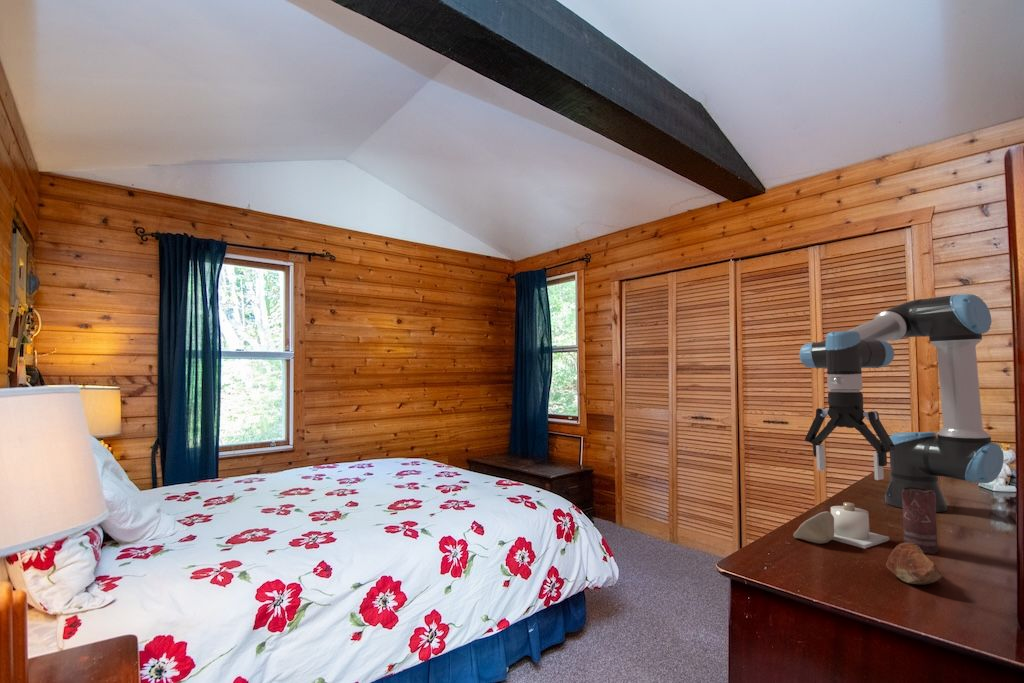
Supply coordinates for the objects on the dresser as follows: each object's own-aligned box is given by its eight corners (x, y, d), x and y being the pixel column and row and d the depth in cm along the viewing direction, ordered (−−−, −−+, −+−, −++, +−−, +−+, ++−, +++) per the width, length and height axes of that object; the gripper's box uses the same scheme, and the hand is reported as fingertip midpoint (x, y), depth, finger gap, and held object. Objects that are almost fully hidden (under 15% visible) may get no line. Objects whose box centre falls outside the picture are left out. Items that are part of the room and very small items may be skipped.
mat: (837, 527, 134) (837, 524, 134) (889, 540, 124) (889, 537, 124) (812, 534, 128) (812, 531, 128) (864, 548, 118) (864, 545, 118)
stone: (795, 537, 129) (817, 506, 129) (821, 557, 124) (845, 524, 124) (790, 534, 121) (814, 500, 121) (818, 554, 117) (843, 519, 117)
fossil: (888, 546, 109) (910, 516, 104) (933, 572, 104) (959, 542, 99) (874, 583, 101) (898, 552, 96) (922, 613, 96) (950, 582, 91)
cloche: (841, 527, 131) (840, 498, 132) (875, 535, 124) (874, 505, 125) (824, 532, 127) (823, 501, 128) (859, 541, 120) (858, 509, 121)
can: (945, 555, 114) (942, 493, 114) (913, 553, 115) (911, 491, 116) (928, 546, 119) (926, 487, 120) (899, 544, 121) (896, 486, 122)
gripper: (788, 390, 137) (792, 467, 136) (894, 393, 116) (899, 485, 114) (804, 389, 141) (807, 464, 140) (909, 392, 119) (914, 481, 118)
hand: (848, 474), depth 127 cm, fingers open, 13 cm apart
